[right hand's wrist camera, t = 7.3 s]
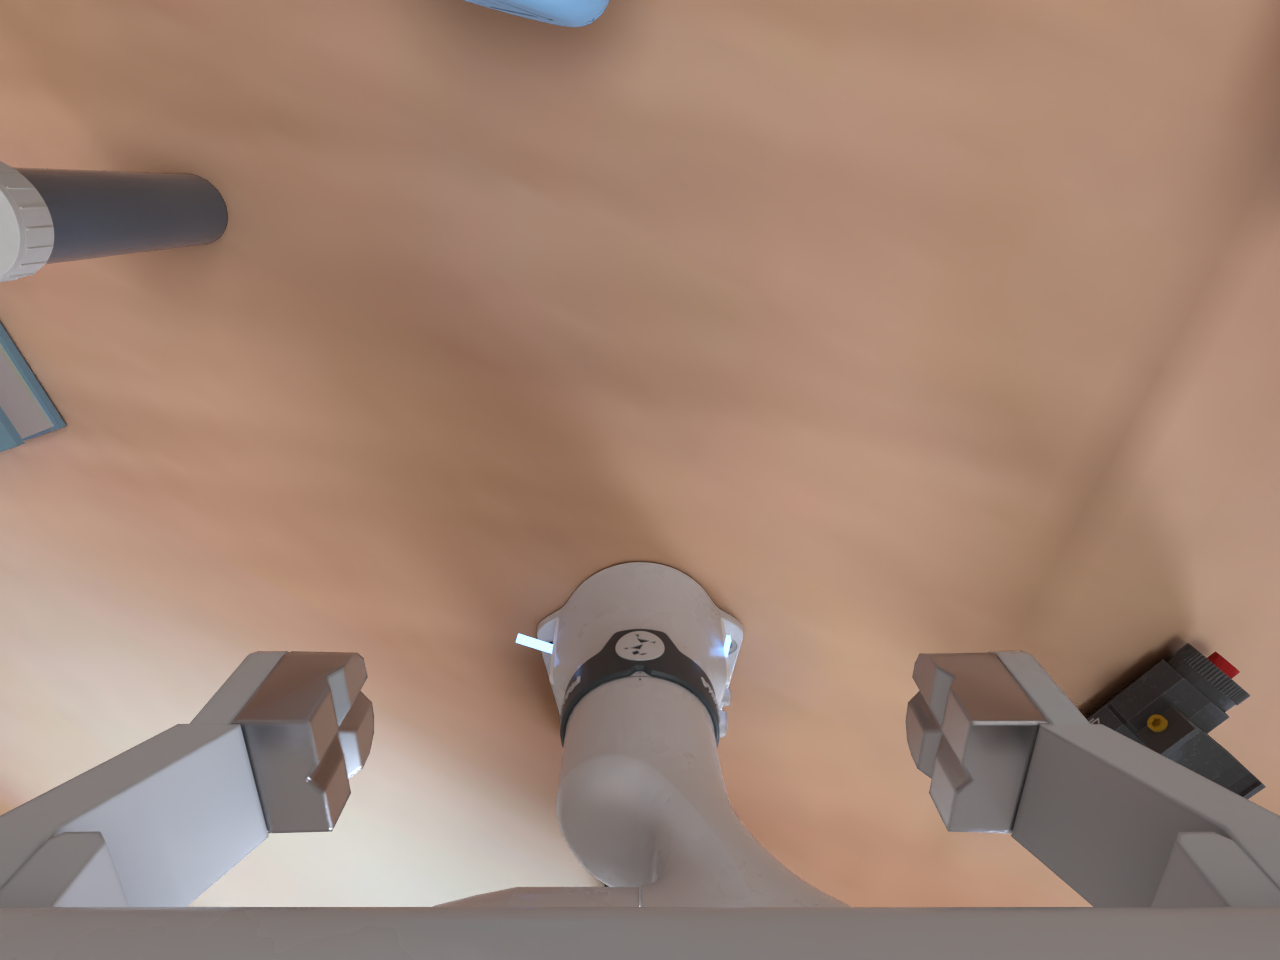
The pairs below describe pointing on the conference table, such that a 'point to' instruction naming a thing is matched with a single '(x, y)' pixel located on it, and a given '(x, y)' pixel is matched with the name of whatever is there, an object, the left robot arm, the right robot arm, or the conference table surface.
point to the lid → (22, 226)
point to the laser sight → (1183, 715)
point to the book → (22, 399)
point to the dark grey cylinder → (126, 211)
